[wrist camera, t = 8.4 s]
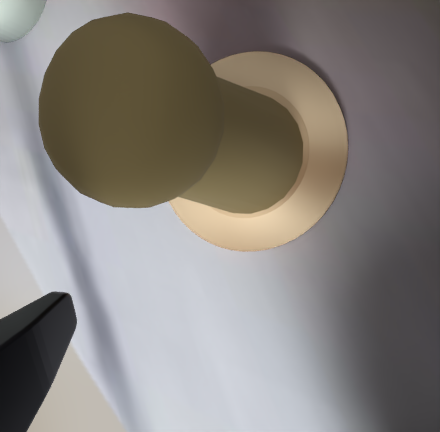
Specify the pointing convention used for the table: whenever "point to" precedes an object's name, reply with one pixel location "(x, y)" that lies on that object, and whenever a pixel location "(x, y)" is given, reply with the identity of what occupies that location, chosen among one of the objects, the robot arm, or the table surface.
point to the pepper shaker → (161, 122)
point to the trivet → (311, 167)
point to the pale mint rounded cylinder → (18, 18)
